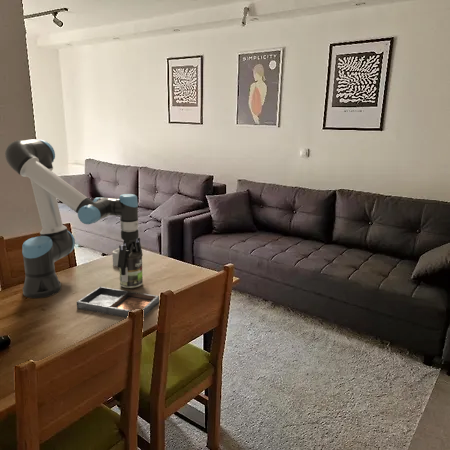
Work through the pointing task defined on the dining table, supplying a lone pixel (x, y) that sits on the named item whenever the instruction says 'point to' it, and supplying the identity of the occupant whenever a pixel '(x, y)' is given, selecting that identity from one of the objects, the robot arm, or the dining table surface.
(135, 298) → the grey divided tray
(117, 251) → the lumpy-topped squat cylinder
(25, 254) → the robot arm
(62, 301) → the dining table surface
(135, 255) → the coffee can
